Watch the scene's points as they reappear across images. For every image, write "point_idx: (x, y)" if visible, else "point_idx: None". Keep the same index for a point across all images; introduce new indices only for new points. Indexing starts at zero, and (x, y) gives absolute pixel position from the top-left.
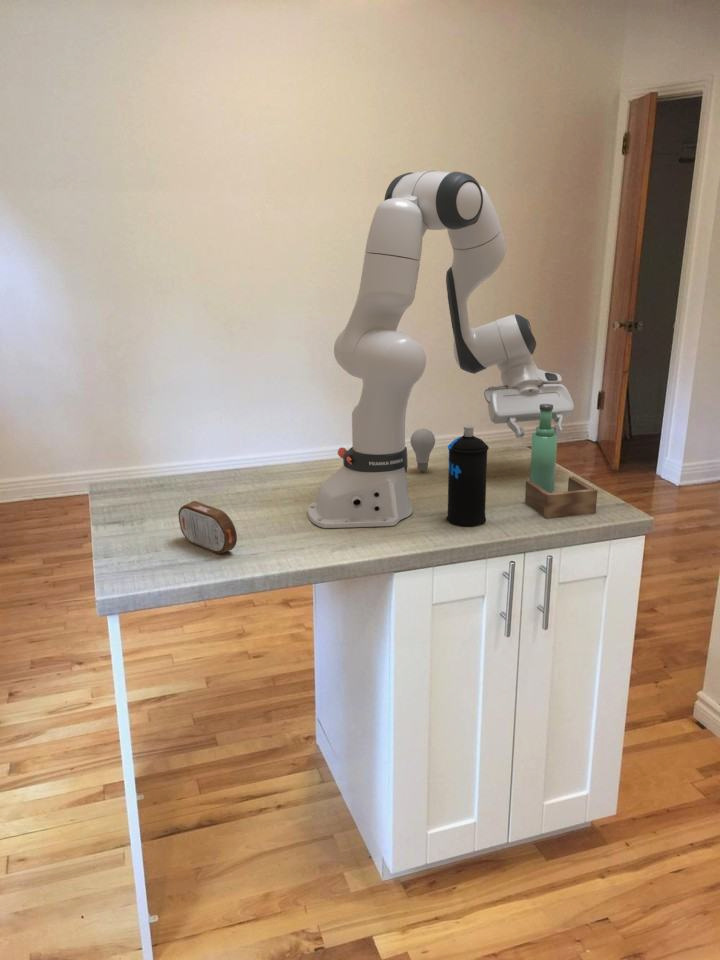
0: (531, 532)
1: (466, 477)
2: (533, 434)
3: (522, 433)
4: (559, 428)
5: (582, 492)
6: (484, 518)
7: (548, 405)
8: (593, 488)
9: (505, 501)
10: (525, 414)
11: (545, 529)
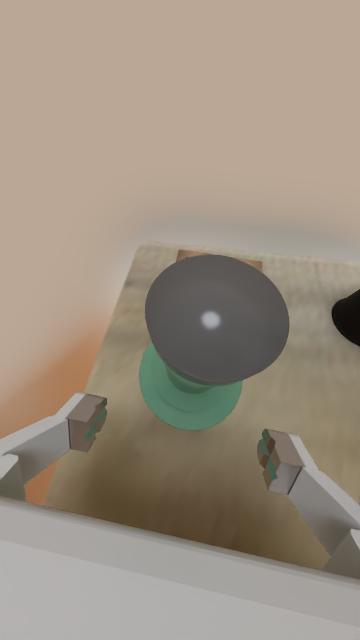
0: (285, 261)
1: None
2: (231, 398)
3: (277, 432)
4: (84, 399)
5: (203, 253)
6: (339, 304)
7: (202, 291)
8: (178, 256)
9: (276, 364)
10: (288, 563)
11: (266, 261)
